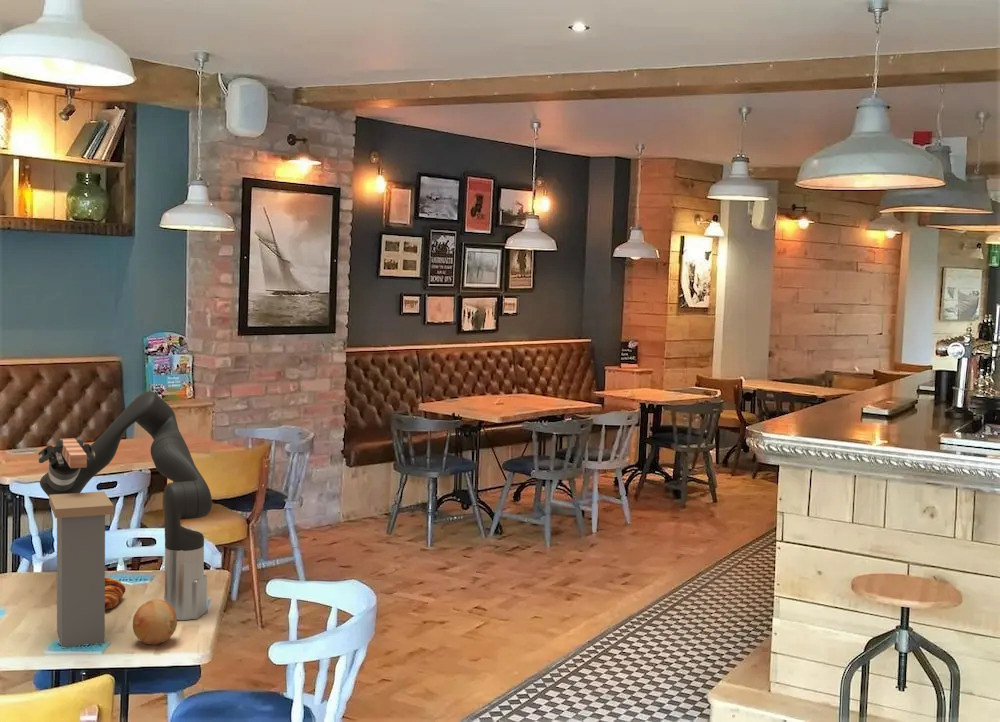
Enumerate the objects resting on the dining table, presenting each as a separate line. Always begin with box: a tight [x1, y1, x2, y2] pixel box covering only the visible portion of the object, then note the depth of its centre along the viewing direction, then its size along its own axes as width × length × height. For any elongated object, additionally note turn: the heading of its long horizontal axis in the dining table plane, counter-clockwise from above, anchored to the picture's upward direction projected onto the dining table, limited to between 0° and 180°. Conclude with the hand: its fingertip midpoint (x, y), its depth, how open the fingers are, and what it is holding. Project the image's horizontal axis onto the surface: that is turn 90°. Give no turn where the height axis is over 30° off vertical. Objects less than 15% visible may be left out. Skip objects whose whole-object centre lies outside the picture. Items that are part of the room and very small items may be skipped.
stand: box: [48, 491, 114, 648], centre depth 239 cm, size 16×12×32 cm
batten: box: [59, 437, 87, 468], centre depth 252 cm, size 26×4×3 cm, turn 28°
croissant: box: [105, 576, 126, 610], centre depth 266 cm, size 21×10×8 cm, turn 26°
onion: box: [132, 598, 178, 646], centre depth 237 cm, size 10×10×10 cm
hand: (70, 442), depth 256 cm, fingers closed on batten, 3 cm apart
